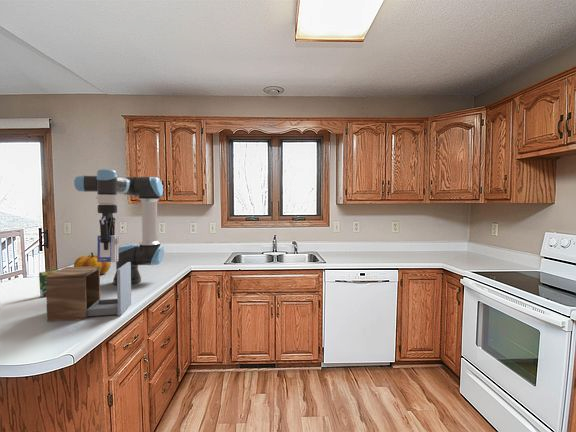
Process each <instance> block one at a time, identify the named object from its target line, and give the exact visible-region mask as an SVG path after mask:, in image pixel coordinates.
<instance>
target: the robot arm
mask: <svg viewBox="0 0 576 432" xmlns="http://www.w3.org/2000/svg"><path fill="white" fill-rule="evenodd" d="M96 172H97V173H96V175H78V176H76V177H74V181H73V184H74V188H75V190H76V191H78V192H85V193H86V192H94V193H96V192H97V196H96V197H95V199H97V204H98V205H97V213H98V214H102V215H101V219H99V227H100V228H99V230H100V231H99V232H100V235H101V243H103V257H110V241H109V239H110V236H116V233H115V232H116V218H115V217H114V214H117V213H118V205H117V204H118V195H125V196H133V197H138V200H139V201H140V202H141V233H142V234H141V238H142V240H141V242H140V243H139V245H138V244H137V243H130V244H128V243H127V244H124V245H119V248H118V261H117V262H116V263H115V265H116V266H115V267H116V268H115V269H116V271H115V274H114V277H113V281H112V284H113V285H114V286H117V269H119V268H120V267H122V266H123V265H124V264H126V263H127V262H131V285H135V284H139V283H140V282H142V276H141V274H140V271H139V266H158V265H160V264H161V263H162V261H163V258H164V254H165V249H164V246H162V245H161V242H160V241H159V240H158V235H159V233H158V201H159V200H161V199H160V198H161V197H162V196H163V195H164V186H163V184H162V180H161V179H160V178H159V177H157V176H126V177H124V176H118V175H117V171H116V170H114V169H105V168H103V169H102V168H101V169H98V170H97V171H96Z"/></svg>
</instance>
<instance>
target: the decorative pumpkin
mask: <svg viewBox="0 0 576 432" xmlns="http://www.w3.org/2000/svg"><path fill="white" fill-rule="evenodd" d="M97 258H98V254H97V255H94V253H93V252H90V255H89V254H88V255H87V256H85V255H82V256H79V257H77V259H75V261H74V265H73V267H90V266H100V275H104V274H106V273H107V272H108V271H109V270H110V269H111V263H112V262H97Z"/></svg>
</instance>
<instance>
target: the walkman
mask: <svg viewBox="0 0 576 432" xmlns="http://www.w3.org/2000/svg"><path fill="white" fill-rule="evenodd" d="M109 241H110V257H103V243H101V234H100V235H97V255H98V258H97V262H110V263H115V262H117V261H118V248H119V246H120V243H119V235H115V236H110V239H109Z"/></svg>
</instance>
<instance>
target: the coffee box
mask: <svg viewBox="0 0 576 432" xmlns="http://www.w3.org/2000/svg"><path fill="white" fill-rule="evenodd" d="M59 270H60V269H51V270H46V271H41V272H38V275H39V276H38V278H39V279H38V280H39V294H40V295H39V296H40V298H47V297H46V276H48V275H50V274H52V273H54V272H57V271H59Z"/></svg>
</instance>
